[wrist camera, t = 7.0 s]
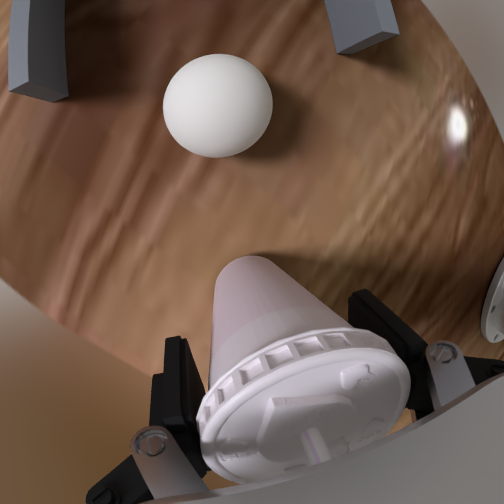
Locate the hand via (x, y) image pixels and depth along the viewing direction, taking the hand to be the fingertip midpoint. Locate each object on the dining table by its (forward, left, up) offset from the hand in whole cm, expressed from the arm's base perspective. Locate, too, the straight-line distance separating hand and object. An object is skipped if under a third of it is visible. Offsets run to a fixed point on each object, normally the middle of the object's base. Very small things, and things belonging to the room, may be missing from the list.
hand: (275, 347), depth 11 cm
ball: (0, -9, -4) cm, 10 cm away
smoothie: (0, 0, -5) cm, 5 cm away
